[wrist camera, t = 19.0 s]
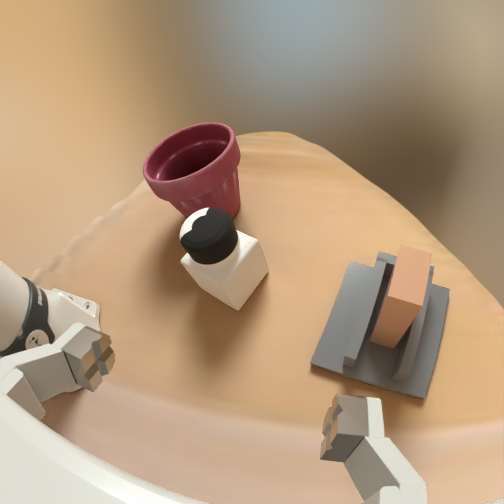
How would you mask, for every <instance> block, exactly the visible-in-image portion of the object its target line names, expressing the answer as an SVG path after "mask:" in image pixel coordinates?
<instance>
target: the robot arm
mask: <svg viewBox="0 0 504 504" xmlns="http://www.w3.org/2000/svg"><path fill="white" fill-rule="evenodd" d="M99 315H100V306H99V304H97V303H95V302H93V301H90V300H87V299H84V298H81V297H78V296H75V295H72V294H70V293H67V292H64V291H61V290H58V289H55V288H53V289H52V290H47V289H43V288H40V287H38V286H37V285H36V284H35V283H34V282H32V281H30V280H28V279H26V278H24V277H20V276H19V275H17V274H16V273H15V272H14V271H12V270H11V269H10V268H8V267H7V266H6V265H5V264H4V263H3V262H1V261H0V357H1V358H2V359H0V504H211V503H207V502H204V501H201V500H197V499H194V498H191V497H188V496H185V495H182V494H179V493H176V492H173V491H171V490H168V489H165V488H162V487H160V486H157V485H155V484H152V483H150V482H148V481H145V480H143V479H140V478H138V477H136V476H134V475H131V474H129V473H127V472H125V471H123V470H121V469H119V468H117V467H115V466H113V465H111V464H109V463H107V462H105V461H103V460H101V459H99V458H97V457H96V456H94V455H92V454H90V453H88V452H87V451H85V450H83V449H82V448H80V447H78V446H77V445H75V444H73V443H72V442H70V441H68V440H67V439H65V438H64V437H62V436H61V435H59V434H58V433H56V432H55V431H53V430H52V429H50V428H49V427H47V426H46V425H45V424H43V423H42V422H40V421H41V420H42V419H43V417H44V416H45V415H46V412H45V410H44V408H43V407H42V405H41V402H44V401H46V400H48V399H50V398H52V397H54V396H56V395H58V394H60V393H62V392H73V391H76V390H78V389H80V388H82V387H83V388H85V389H88V390H90V391H92V392H94V391H95V390H96V389H97V387H98V386H99V385H100V384H101V382H102V376H103V375H106V374H109V372H110V371H111V370H112V368H113V365H114V362H115V354H114V351H113V350H112V348H111V347H110V344H111V343H112V342H111V339H110V336H109V335H107V334H104V333H102V332H101V331H100V327H99ZM322 433H323V435H324V436H325V438H324V440H323V442H322V443H321V454H320V460H328V461H336V462H344V465H345V467H346V469H347V471H348V472H349V474H350V476H351V478H352V480H353V482H354V483H355V485H356V487H357V489H358V491H359V493H360V494H361V496H362V498H363V500H364V502H363V503H362V504H427V493H426V483H425V482H424V480H423V479H422V478H421V477H420V476H419V474H418V473H417V472H416V471H415V469H414V468H413V467H412V466H411V464H410V463H409V462H408V461H407V460H406V458H405V457H404V456H403V455H402V453H401V452H400V451H399V450H398V448H397V447H396V446H395V445H394V443H393V442H392V441H391V440H390V438H387V437H385V433H384V422H383V413H382V404H381V400H380V398H372V397H364V396H353V395H344V394H336V395H335V396H334V398H333V402H332V407H330V408H329V409H328V411H327V413H326V416H325V419H324V424H323V432H322ZM484 504H504V497H502V498H499V499H496V500H493V501H490V502H487V503H484Z"/></svg>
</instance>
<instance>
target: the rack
mask: <svg viewBox="0 0 504 504" xmlns="http://www.w3.org/2000/svg"><path fill="white" fill-rule="evenodd" d="M396 258H397V256H394V255H390V254H387V253H383V252H379V253H378V256H377V260H376V264H375V267H371V266H367V265H364V264H360V263H356V262H353V261H350V262H349V265H348V268H347V271H346V274H345V276H344V279H343V282H342V285H341V288H340V290H339V293H338V296H337V298H336V301H335V304H334V306H333V309H332V311H331V314H330V316H329V319H328V322H327V324H326V326H325V329H324V331H323V334H322V336H321V339H320V341H319V343H318V346H317V348H316V351H315V353H314V355H313V357H312V360H311V362H310V364H311V365H314V366H316V367H319V368H322V369H325V370H328V371H331V372H334V373H337V374H340V375H343V376H346V377H349V378H352V379H355V380H358V381H361V382H364V383H367V384H371V385H374V386H377V387H381V388H384V389H387V390H391V391H394V392H398V393H401V394H405V395H409V396H412V397H416V398H420V399H424V398H425V396H426V393H427V389H428V386H429V383H430V379H431V376H432V372H433V369H434V365H435V361H436V357H437V353H438V349H439V344H440V340H441V335H442V331H443V326H444V320H445V315H446V309H447V303H448V297H449V290H450V289H448V288H445V287H441V286H438V285H434V284H431V283H432V277H433V270H434V267H433V266H430V270H429V275H428V281H427V286H426V291H425V296H424V301H423V306H422V307H421V309H420V311H419V312H418V314H417V315H416V317H415V318H414V320H413V321H412V323H411V324H410V326H409V327H408V329H407V330H406V332H405V333H404V335H403V336H402V337H401V339H400V340H399V342H398V343H397V344H396V346H395V347H394V349H393V348H390V347H386V346H383V345H380V344H377V343H373V342H370V338H371V335H372V333H373V330H374V327H375V323H376V320H377V317H378V314H379V311H380V308H381V304H382V301H383V298H384V296H385V293H386V290H387V287H388V284H389V281H390V278H391V274H392V271H393V268H394V265H395V261H396Z"/></svg>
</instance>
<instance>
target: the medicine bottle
mask: <svg viewBox="0 0 504 504" xmlns="http://www.w3.org/2000/svg"><path fill="white" fill-rule="evenodd" d="M180 242H181V244H182V246H183V247H184V248H185V250H186V251H187V253H186V254H185V256H184V257H183V258H182V259H181V264H182V265H183V266H184V267H185V269H186V270H187V271H188V272H189V274H190V275H191V276H192V278H193V279H194V280H195V281H196V283H197V284H198V285H199V286H200V288H202V289H203V290H205V291H206V292H208V293H209V294H211V295H213V296H214V297H216V298H217V299H219V300H220V301H222V302H224V303H225V304H227V305H228V306H230V307H232V308H233V309H235V310H237V311H238V310H240V309H241V307H242V306H243V305H244V303H245V302H246V301H247V299H248V298H249V297H250V295H251V294H252V293H253V291H254V290H255V289H256V287H257V286H258V285H259V283H260V282H261V280H262V279H263V278H264V276H265V275H266V274H267V272H268V267H267V264H266V261H265V259H264V256H263V253H262V250H261V248H260V245H259V242H258V240H257V239H255V238H253V237H250V236H248V235H246V234H244V233H242V232H239V231H237V230H236V228H235V226H234V224H233V222H232V219H231V217H230V215H229V214H228V213H227V212H226V211H224V210H222V209H220V208H213V207H210V208H204V209H201V210H199V211H197V212H195V213H193V214H192V215H191V216H189V217H188V218H187V219H186V221H185V222H184V224H183V225H182V228H181V230H180Z"/></svg>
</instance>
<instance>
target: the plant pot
mask: <svg viewBox="0 0 504 504" xmlns="http://www.w3.org/2000/svg"><path fill="white" fill-rule="evenodd" d="M239 161H240V150H239V147H238V144H237V141H236V138H235V135H234V132H233V130H232V129H231V128H230V127H229V126H227V125H224V124H221V123H214V122H211V123H201V124H196V125H193V126H189V127H187V128H184V129H182V130H180V131H177V132H175V133H174V134H172V135H170V136H169V137H167V138H166V139H164V140H163V141H161V142H160V143H159V144H158V145H157V146H156V147H155V148H154V149H153V150H152V151H151V152H150V154H149V155H148V156H147V158H146V160H145V162H144V166H143V175H144V177H145V179H146V181H147V183H148V184H149V186H150V187H151V189H152V190H153V192H154V193H155V195H156V196H158V197H159V198H161V199H163V200H166V201H169V202H170V203H171V204H172V205H173V206H174V207H175V208H176V209H177V210H178V211H180V212H181V213H182V214H183V215H184V216H185V217H186V218H188V217H189V216H191V215H192V214H193V213H195V212H197V211H199V210H201V209H204V208H210V207H213V208H220V209H222V210H224V211H226V212H227V213H228V214H229V215H230V217H231V218H233V217H234V215H235V214H236V213H237V211H238V209H239V207H240V193H239V180H238V170H237V166H238V164H239Z"/></svg>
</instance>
